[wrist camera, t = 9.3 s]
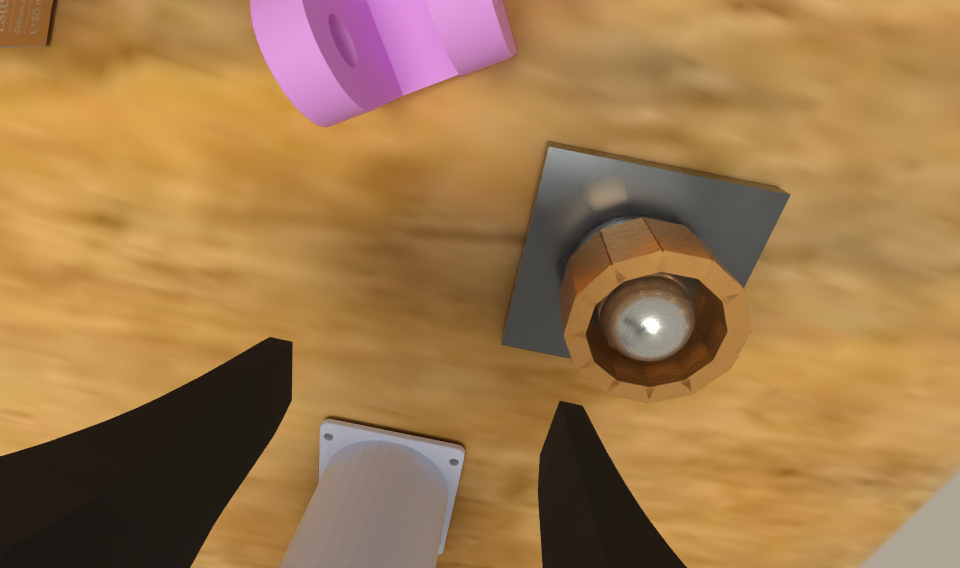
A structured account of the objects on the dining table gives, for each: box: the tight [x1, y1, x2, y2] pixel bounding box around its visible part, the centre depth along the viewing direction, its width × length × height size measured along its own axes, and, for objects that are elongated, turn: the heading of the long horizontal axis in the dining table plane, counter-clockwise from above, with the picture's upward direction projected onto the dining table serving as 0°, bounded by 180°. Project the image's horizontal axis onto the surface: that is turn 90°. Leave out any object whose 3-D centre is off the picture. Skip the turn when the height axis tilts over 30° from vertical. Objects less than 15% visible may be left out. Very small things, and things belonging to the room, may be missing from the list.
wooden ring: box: [559, 217, 751, 403], centre depth 17 cm, size 6×6×3 cm
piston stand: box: [502, 141, 790, 361], centre depth 18 cm, size 9×9×6 cm
